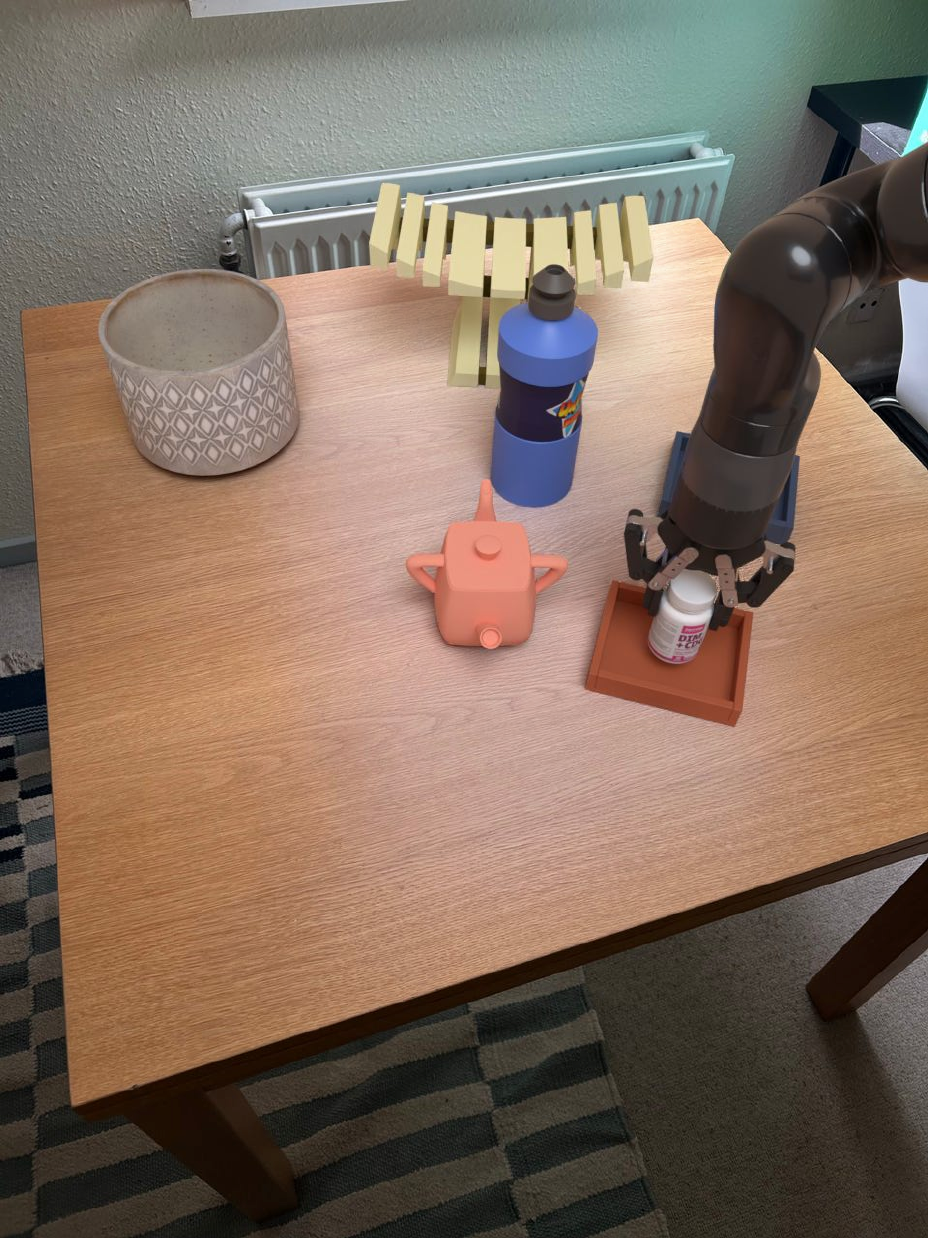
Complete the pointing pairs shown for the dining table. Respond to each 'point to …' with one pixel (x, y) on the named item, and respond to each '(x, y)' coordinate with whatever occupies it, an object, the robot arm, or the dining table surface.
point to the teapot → (486, 579)
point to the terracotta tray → (684, 688)
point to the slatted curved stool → (504, 262)
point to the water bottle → (541, 391)
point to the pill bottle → (683, 617)
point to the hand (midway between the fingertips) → (683, 615)
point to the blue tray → (784, 509)
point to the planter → (202, 370)
